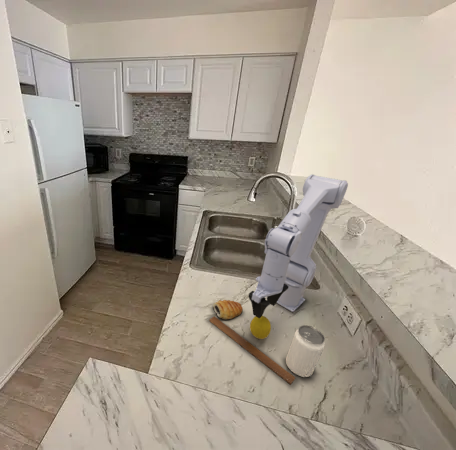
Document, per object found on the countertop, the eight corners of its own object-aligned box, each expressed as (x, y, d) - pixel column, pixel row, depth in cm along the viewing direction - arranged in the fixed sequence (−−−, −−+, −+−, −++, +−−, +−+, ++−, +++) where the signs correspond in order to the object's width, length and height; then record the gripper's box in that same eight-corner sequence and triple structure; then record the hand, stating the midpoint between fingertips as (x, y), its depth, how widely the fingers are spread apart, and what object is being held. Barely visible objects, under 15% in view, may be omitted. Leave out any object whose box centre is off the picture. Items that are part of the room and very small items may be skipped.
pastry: (235, 302, 89) (237, 294, 87) (246, 316, 83) (248, 308, 81) (211, 307, 86) (212, 298, 85) (220, 322, 81) (222, 313, 79)
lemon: (269, 346, 73) (275, 326, 69) (249, 343, 74) (254, 322, 70) (265, 331, 78) (271, 311, 74) (246, 328, 79) (251, 308, 75)
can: (280, 356, 70) (291, 324, 65) (302, 354, 70) (315, 323, 65) (294, 379, 64) (307, 346, 59) (318, 377, 65) (333, 344, 59)
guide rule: (214, 317, 82) (214, 316, 82) (294, 379, 64) (295, 377, 64) (209, 320, 81) (209, 319, 81) (290, 384, 63) (291, 383, 63)
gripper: (273, 255, 74) (264, 291, 80) (245, 274, 66) (237, 313, 72) (298, 266, 69) (286, 304, 75) (270, 288, 61) (260, 328, 67)
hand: (264, 309), depth 73 cm, fingers open, 7 cm apart
